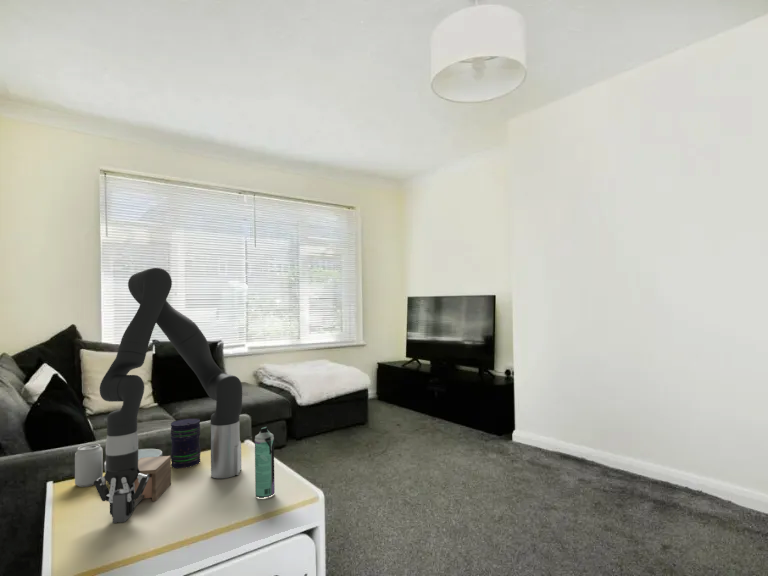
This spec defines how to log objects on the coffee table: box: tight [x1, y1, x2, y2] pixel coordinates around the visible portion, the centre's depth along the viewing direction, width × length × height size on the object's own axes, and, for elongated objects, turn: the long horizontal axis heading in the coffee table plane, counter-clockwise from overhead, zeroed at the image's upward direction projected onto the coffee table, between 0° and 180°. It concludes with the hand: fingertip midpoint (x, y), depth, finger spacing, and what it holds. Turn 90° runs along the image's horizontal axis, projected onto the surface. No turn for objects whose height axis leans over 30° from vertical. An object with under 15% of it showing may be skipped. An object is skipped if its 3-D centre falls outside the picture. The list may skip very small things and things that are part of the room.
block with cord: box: [112, 474, 152, 524], centre depth 123 cm, size 5×20×7 cm, turn 7°
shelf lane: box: [138, 455, 172, 502], centre depth 132 cm, size 9×12×9 cm
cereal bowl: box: [103, 448, 163, 474], centre depth 144 cm, size 17×17×7 cm
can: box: [74, 443, 104, 488], centre depth 141 cm, size 8×8×12 cm
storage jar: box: [170, 417, 201, 469], centre depth 157 cm, size 10×10×15 cm
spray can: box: [254, 426, 276, 498], centre depth 128 cm, size 6×6×20 cm
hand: (122, 514), depth 115 cm, fingers closed on block with cord, 3 cm apart
